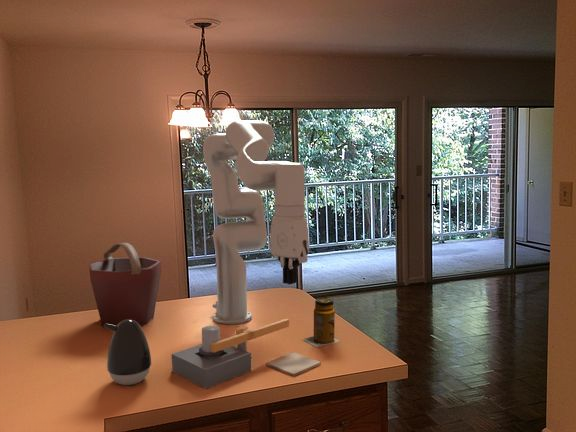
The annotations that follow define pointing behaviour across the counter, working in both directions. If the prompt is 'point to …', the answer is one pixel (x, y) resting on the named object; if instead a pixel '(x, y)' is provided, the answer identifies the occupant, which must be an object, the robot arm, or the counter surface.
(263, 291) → the counter surface
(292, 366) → the pad
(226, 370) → the socket block
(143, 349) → the pump dispenser
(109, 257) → the bucket
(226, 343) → the knobbed wooden stick
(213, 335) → the plug
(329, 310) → the condiment
